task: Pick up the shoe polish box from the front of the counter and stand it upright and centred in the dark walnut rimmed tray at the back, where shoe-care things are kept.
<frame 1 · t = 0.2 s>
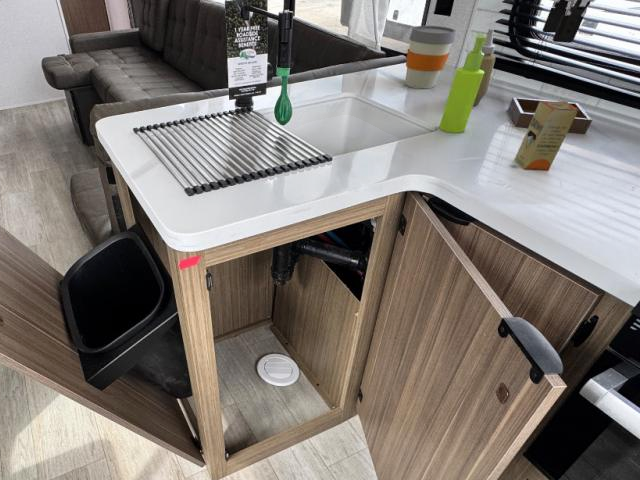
hand: (556, 36, 82), 22 cm above the countertop, tool pointing down, fingers open, 9 cm apart
reusable coffee cup: (419, 85, 137), on the countertop
squeeze bottle: (466, 103, 123), on the countertop
shoe polish box: (530, 165, 92), on the countertop
tray: (544, 121, 112), on the countertop
soap dispenser: (451, 128, 108), on the countertop
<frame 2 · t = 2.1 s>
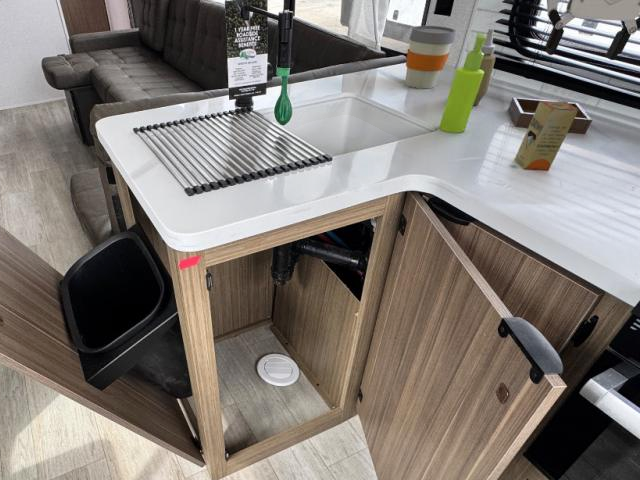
hand: (579, 55, 78), 20 cm above the countertop, tool pointing down, fingers open, 9 cm apart
nothing on the countertop moved.
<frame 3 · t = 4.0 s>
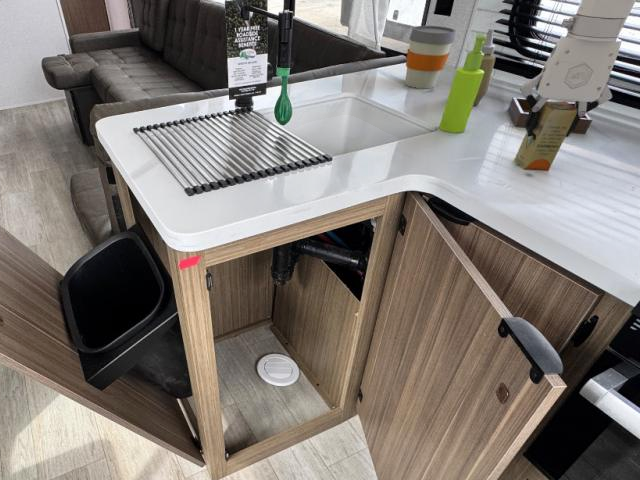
hand: (546, 131, 87), 7 cm above the countertop, tool pointing down, fingers closed on shoe polish box, 5 cm apart
shoe polish box: (530, 165, 92), on the countertop, touching gripper
everything else where it was.
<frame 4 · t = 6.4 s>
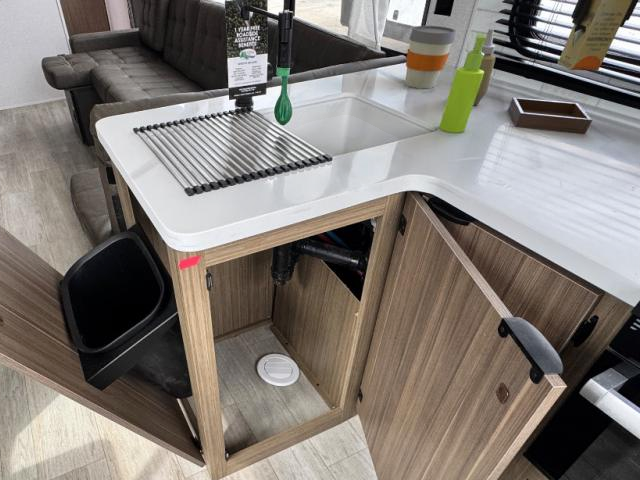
hand: (597, 23, 77), 25 cm above the countertop, tool pointing down, fingers closed on shoe polish box, 5 cm apart
shoe polish box: (576, 67, 82), point 18 cm above the countertop, touching gripper
everything else where it was.
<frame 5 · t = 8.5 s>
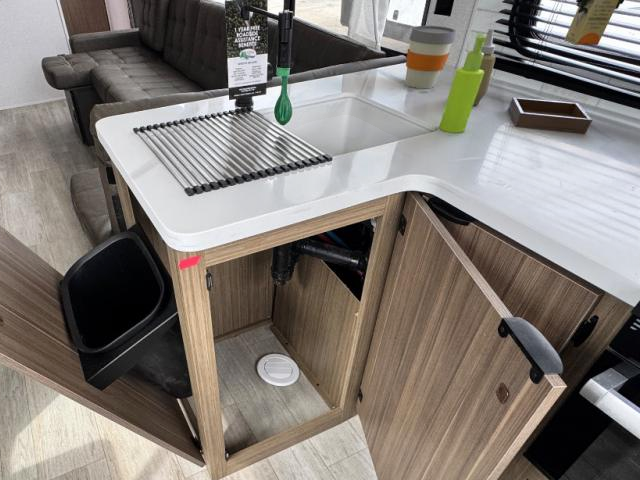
hand: (597, 6, 95), 25 cm above the countertop, tool pointing down, fingers closed on shoe polish box, 5 cm apart
shoe polish box: (580, 43, 99), point 18 cm above the countertop, touching gripper
everything else where it was.
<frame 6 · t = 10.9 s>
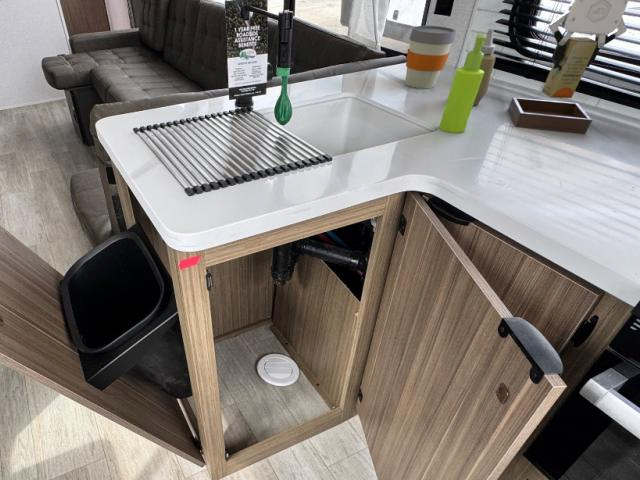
hand: (570, 63, 103), 13 cm above the countertop, tool pointing down, fingers closed on shoe polish box, 5 cm apart
shoe polish box: (555, 95, 108), point 6 cm above the countertop, touching gripper
everything else where it was.
when the fingers open (8 cm above the countertop, at t = 12.8 s): shoe polish box stays where it is, resting on tray.
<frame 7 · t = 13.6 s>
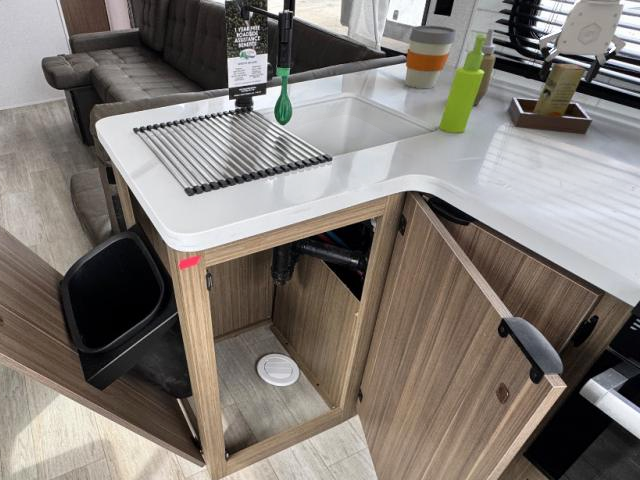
hand: (564, 80, 105), 10 cm above the countertop, tool pointing down, fingers open, 9 cm apart
shoe polish box: (545, 118, 111), point 1 cm above the countertop, touching tray
everything else where it was.
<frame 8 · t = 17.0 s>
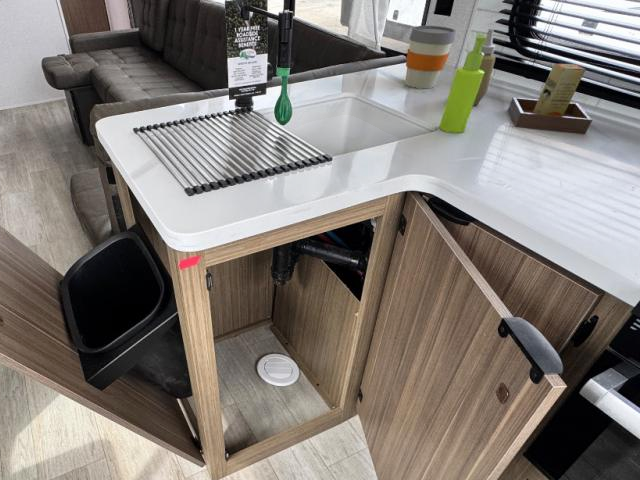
nothing on the countertop moved.
at the end: shoe polish box inside the target area in the tray (0.1 cm from its centre), point 0.6 cm above the tray's base; shoe polish box tilted 0° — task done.
